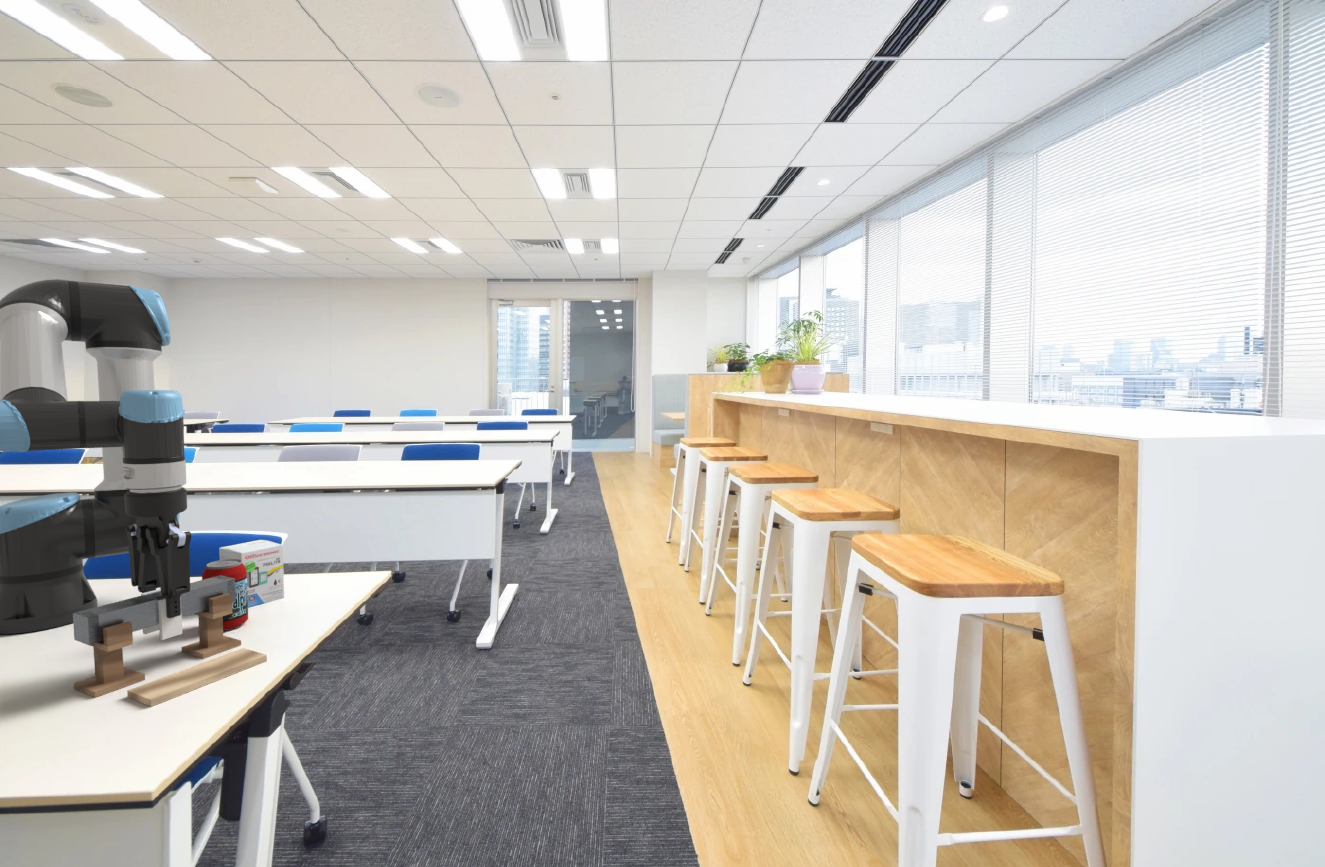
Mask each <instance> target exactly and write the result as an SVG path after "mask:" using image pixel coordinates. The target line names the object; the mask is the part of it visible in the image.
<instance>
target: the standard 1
mask: <svg viewBox="0 0 1325 867" xmlns="http://www.w3.org/2000/svg"><path fill="white" fill-rule="evenodd" d="M103 637H104V641H101V642H97V643H94V644H91V645H88V646H89V647H92V648H93V659H94V660H93V661H94V664H93V666H94V676H92V677H89V678H85V679H82V680H79V681H77V682H76V681H75V682H74V683H73V689H74V690H76V691H79V692H80V693H83V694H86V695H89V696H90V697H93V698H98V697H102V696H103V695H106V694H109V693H112V692H115V691H118V690H120V689H123V688H126V687H128V686H132V685H134V684H137V683H139V682H142V681H145V680H146V675H145V674H146V673H145V674H144V673H141V672H139V671H136V670H134V669H132V668H128V667H126V666H124V653H123V652H124V651H123V648H125V647H129V646H132V645H134V639H133V637H134V636H133V632H132V622H124V623H121V624H117V625H114V626H110V627H107V628H103Z"/></svg>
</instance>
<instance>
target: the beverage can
mask: <svg viewBox="0 0 1325 867" xmlns="http://www.w3.org/2000/svg"><path fill="white" fill-rule="evenodd" d="M220 575H222V576H226V577H230V578H234V579H235V594H236V601H235V602H232V612H233V613H232V614H229V615H225V616H223V632H224V631H229V630H233V629H237V628H239V627H241V626H242V625H243V624H245V623H246V622H247V621H248V620H249V607H248V592H247V569H246V567H245V566H244V565H243V563H242V560H240V559H225V560H220V559H219V560H215V561H210V562H209V563H207V564H206V567H205V569H204V571H203V572H202V573H201V580H204V579H208V578H212V577H216V576H220Z"/></svg>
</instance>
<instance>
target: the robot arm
mask: <svg viewBox="0 0 1325 867" xmlns="http://www.w3.org/2000/svg"><path fill="white" fill-rule="evenodd" d="M166 309H167V308H166V306H165V304H164V300H163V298H162V297H161V295H160V294H159V293H158V292H157V291H156V290H154V289H150V288H143V287H137V286H132V285H122V284H108V283H98V282H97V283H96V282H86V281H76V280H68V279H59V278H56V279H43V280H39V281H33V282H30V283H28V284H25V285H22V286H19V287H17V288H15V289H14V290H11V291H10V292H9V293H7V294H6V295H5V296H3V297H2V298H1V299H0V452H18V453H26V452H36V451H37V452H38V451H56V450H74V449H99V448H100V449H101V450H102V451H101V452H102V454H101V455H102V463H103V465H102V468H103V469H102V470H103V480H102V481H101V482H100V483H98V485H97V486H95V487H94V488H93V489H94V490H93V492H94V495H93V496H94V497H92V498H84V499H83V498H82V499H81V496H80V494H79V493H78V492H73V491H72V492H70V491H69V492H62V493H61V492H60V493H51V494H45V495H38V496H32V497H28V498H27V497H26V498H23V499H18V500H15V501H11V502H8V503H5V504H2V505H1V506H0V635H13V634H21V633H22V634H23V633H30V632H32V633H33V632H37V631H44V630H47V629H49V630H50V629H54V628H57V627H61V626H66V625H69V624H72V623H73V613H75V612H79V611H83V610H87V609H91V608H95V607H99V606H98V599H97V598H98V597H97V596H96V594H95V592H94V590H93V589H92V586H91V584H90V583H89V581H88V579H87V577H86V575H85V573H84V562H83V561H84V560H87V559H92V558H93V559H94V558H100V557H101V558H102V557H108V556H115V555H124V554H129V555H128V556H129V570H130V581H131V586H132V587H133V588H135V587H137V591H138V592H139V593H141V594H140V596H142V595H146V594H150V593H154V592H157V591H161V596H157V597H156V599H157V600H158V608H159V624H158V625H154V626H151V627H148V628H144V629H142V634H143V635H148V634H151V633H153V632H157V631H159V639H160V640H162V641H164V640H167V639H170V638H174V637H176V636H179V635H182V634H183V620H182V619H183V617H182V616H181V594H184V593H187V592H189V591H190V583H191V562H190V556H191V555H190V545H191V540H192V533H191V531H190V530H189V531H184V532H183V531H182V530H181V529H180V528H181V527H180V514H181V513H182V512H185V511H186V510H187V509H188V493H187V488H185V487H183V486H185V485H186V484H187V465H186V464H187V463H186V462H187V461H186V457H185V433H184V431H185V429H184V428H185V427H184V421H185V420H184V416H185V408H184V407H183V405H184V404H183V397H182V394H181V393H180V392H178V391H177V390H168V389H167V390H164V389H155V377H154V376H155V374H154V373H155V372H154V371H155V370H154V361H155V360H156V359H158V358H159V357H160V356H161V355H162V353H163V351H162V350H163V349H162V348H163V347H166V346H169V345H170V344H171V332H170V331H171V326H170V322H169V317H168V313H167V312H168V311H167V310H166ZM64 341H71V342H80V343H81V342H83V343H85V352H86V353H87V354H89V355H90V356H92V357H93V358H94V359H95V361H96V367H97V383H98V384H97V385H98V400H68V391H67V382H66V373H65V372H66V371H65V363H64V362H65V361H64V354H63V342H64Z"/></svg>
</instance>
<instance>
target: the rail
mask: <svg viewBox="0 0 1325 867" xmlns="http://www.w3.org/2000/svg"><path fill="white" fill-rule="evenodd" d="M228 593H229V594H232V602H235V601H236V594H235V579H234V578H230V577H226V576H222V575H220V576H216V577H212V578H208V579H204V580H202V579H201V580H197V581H193V582H190V591H189V592H187V593H184V594H181V616H182V618H184V617H187V616H188V617H189V616H191V615H196V614H195V613H198V612H201V611H205V610H208V609H209V599H210V598H213V597H217V596H220V595H224V594H228ZM157 596H161V591H157V592H154V593H150V594H146V595H142V596H141V595H139V596H134V597H130V598H127V599H122V600H118V601H114V602H111V603H107V604H103V605H100V606H98V607H95V608H91V609H87V610H83V611H79V612H75V613H73V622H72V623H73V637H74V638H73V639H74V641H76V642H78V643H82V644H85V645H87V646H89V645H91V644H94V643H97V642H101V641H104V637H103V628H107V627H110V626H114V625H117V624H121V623H124V622H132V633H134V632H136V631H141V630H143V629H144V628H148V627H151V626H154V625H158V624H159V608H158V600H157V599H156V597H157Z"/></svg>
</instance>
